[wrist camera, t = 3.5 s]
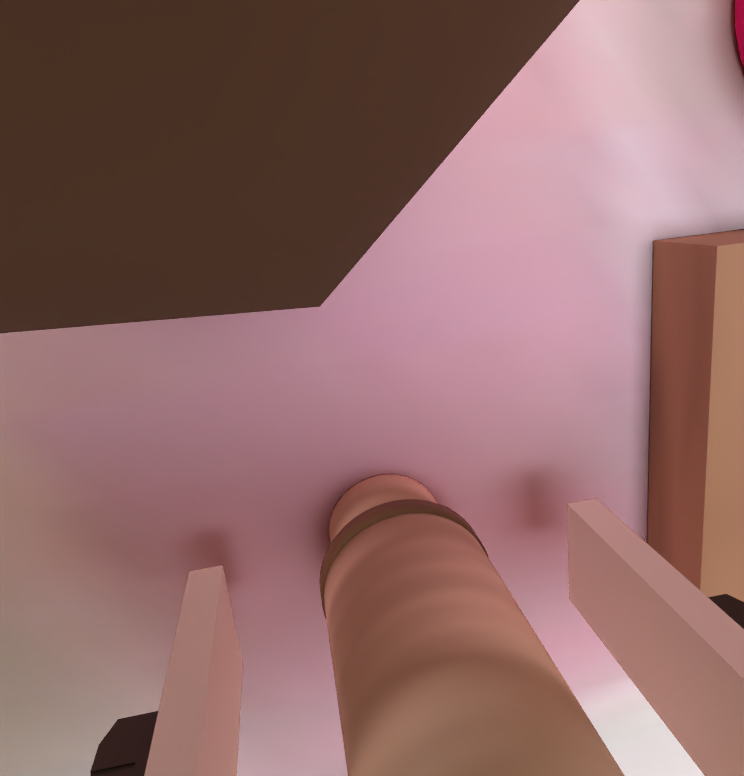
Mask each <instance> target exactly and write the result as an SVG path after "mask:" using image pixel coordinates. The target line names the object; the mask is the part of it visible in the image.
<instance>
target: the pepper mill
mask: <svg viewBox="0 0 744 776" xmlns="http://www.w3.org/2000/svg"><path fill="white" fill-rule="evenodd" d="M735 31H736V37H737V43H738V48H739V54H740V59H741V62H742V64H743V66H744V0H735Z"/></svg>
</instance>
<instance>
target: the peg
mask: <svg viewBox="0 0 744 776" xmlns="http://www.w3.org/2000/svg"><path fill="white" fill-rule="evenodd" d="M329 536H330V542H331V544H330V546H329V548H328V550H327V552H326V554H325V557H324V559H323V562H322V567H321V571H320V591H321V599H322V606H323V610H324V615H325V618H326V620H327V627H328V634H329V641H330V648H331V655H332V663H333V670H334V677H335V684H336V692H337V699H338V706H339V713H340V720H341V728H342V735H343V742H344V749H345V757H346V764H347V771H348V776H624V774H623V773H622V771H621V769H620V768H619V766H618V765H617V763H616V761H615V760H614V758H613V757H612V755H611V753H610V752H609V750H608V749H607V747H606V745H605V744H604V742H603V741H602V739H601V737H600V736H599V734H598V733H597V731H596V729H595V728H594V726H593V725H592V723H591V721H590V720H589V718H588V717H587V715H586V713H585V712H584V710H583V709H582V707H581V705H580V704H579V702H578V701H577V699H576V697H575V696H574V694H573V693H572V691H571V689H570V688H569V686H568V685H567V683H566V681H565V680H564V678H563V677H562V675H561V673H560V672H559V670H558V669H557V667H556V665H555V664H554V662H553V661H552V659H551V657H550V656H549V654H548V653H547V651H546V649H545V648H544V646H543V645H542V643H541V641H540V640H539V638H538V637H537V635H536V633H535V632H534V630H533V629H532V627H531V625H530V624H529V622H528V621H527V619H526V617H525V616H524V614H523V613H522V611H521V609H520V608H519V606H518V605H517V603H516V601H515V600H514V598H513V597H512V595H511V593H510V592H509V590H508V589H507V587H506V585H505V584H504V582H503V581H502V579H501V577H500V576H499V574H498V573H497V571H496V569H495V568H494V566H493V565H492V563H491V561H490V560H489V558H488V555H487V552H486V550H485V548H484V546H483V545H482V543H481V541H480V540H479V538H478V537H477V535H476V534H475V532H474V531H473V529H472V528H471V526H470V525H469V524H468V523H467V522H466V521H465V519H463V518H462V517H461V516H460V515H459V514H457V513H456V512H454V511H453V510H451V509H449V508H448V507H445V506H443V505H440V504H438V503H437V502H436V500H435V498H434V497H433V495H432V494H431V493H430V492H429V490H428V489H427V488H426V487H424V486H423V485H422V484H421V483H419V482H417V481H416V480H413V479H411V478H409V477H405V476H402V475H395V474H385V475H378V476H374V477H370V478H368V479H365V480H363V481H361V482H359V483H357V484H356V485H354V486H353V487H351V488H350V489H349V490H348V491H347V492H346V493H345V494H344V495H343V496H342V497H341V498H340V500H339V501H338V502H337V504H336V506H335V508H334V510H333V512H332V515H331V519H330V524H329Z"/></svg>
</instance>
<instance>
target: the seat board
mask: <svg viewBox="0 0 744 776" xmlns="http://www.w3.org/2000/svg"><path fill="white" fill-rule="evenodd" d="M647 544H648V545H649V546H651V547H652V548H653V549H654V550H655V551H656V552H657V553H658V554H660V555H661V556H662V557H663V558H664V559H665V560H666V561H667V562H669V563H670V564H671V565H672V566H673V567H674V568H675V569H676V570H678V571H679V572H680V573H681V574H682V575H683V576H684V577H685V578H687V579H688V580H689V581H690V582H691V583H692V584H693V585H694V586H696V587H697V588H698V589H699V590H700V591H701V592H702V593H703V594H705V595H706V596H707V597H712V596H717V595H722V594H728V595H730V596H732V597H734V598H736V599H738V600H740V601H743V602H744V229H741V230H733V231H725V232H717V233H710V234H702V235H694V236H686V237H679V238H671V239H663V240H655V241H654V253H653V301H652V348H651V396H650V443H649V491H648V539H647Z"/></svg>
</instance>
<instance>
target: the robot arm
mask: <svg viewBox="0 0 744 776" xmlns="http://www.w3.org/2000/svg"><path fill="white" fill-rule="evenodd" d="M567 522H568V571H569V599H570V601H571V602H572V603H573V604H574V606H575V607H576V608H577V610H578V611H579V612H580V614H581V615H582V616H583V617H584V619H585V620H586V621H587V623H588V624H589V625H590V627H591V628H592V629H593V631H594V632H595V633H596V634H597V636H598V637H599V638H600V640H601V641H602V642H603V644H604V645H605V646H606V647H607V649H608V650H609V651H610V653H611V654H612V655H613V657H614V658H615V659H616V661H617V662H618V663H619V664H620V666H621V667H622V668H623V670H624V671H625V672H626V674H627V675H628V676H629V677H630V679H631V680H632V681H633V683H634V684H635V685H636V687H637V688H638V689H639V691H640V692H641V693H642V694H643V696H644V697H645V698H646V700H647V701H648V702H649V704H650V705H651V706H652V707H653V709H654V710H655V711H656V713H657V714H658V715H659V717H660V718H661V719H662V720H663V722H664V723H665V724H666V726H667V727H668V728H669V730H670V731H671V732H672V734H673V735H674V736H675V737H676V739H677V740H678V741H679V743H680V744H681V745H682V747H683V748H684V749H685V750H686V752H687V753H688V754H689V756H690V757H691V758H692V760H693V761H694V762H695V764H696V765H697V766H698V767H699V769H700V770H701V771H702V773H703V774H704V775H705V776H744V602H743V601H740V600H738V599H736V598H734V597H732V596H730V595H728V594H722V595H717V596H712V597H707V596H706V595H705V594H703V593H702V592H701V591H700V590H699V589H698V588H697V587H696V586H694V585H693V584H692V583H691V582H690V581H689V580H688V579H687V578H685V577H684V576H683V575H682V574H681V573H680V572H679V571H678V570H676V569H675V568H674V567H673V566H672V565H671V564H670V563H669V562H667V561H666V560H665V559H664V558H663V557H662V556H661V555H660V554H658V553H657V552H656V551H655V550H654V549H653V548H652V547H651V546H649V545H648V544H647V543H646V542H645V541H644V540H643V539H642V538H640V537H639V536H638V535H637V534H636V533H635V532H634V531H633V530H631V529H630V528H629V527H628V526H627V525H626V524H625V523H624V522H622V521H621V520H620V519H619V518H618V517H617V516H616V515H615V514H613V513H612V512H611V511H610V510H609V509H608V508H607V507H606V506H604V505H603V504H602V503H601V502H600V501H599V500H598V499H597V498H595V499H589V500H584V501H578V502H572V503H567ZM242 669H243V662H242V657H241V652H240V647H239V642H238V637H237V632H236V627H235V622H234V617H233V612H232V607H231V602H230V598H229V593H228V588H227V583H226V578H225V573H224V568H223V565H221V566H215V567H209V568H204V569H198V570H193V571H189V575H188V579H187V584H186V588H185V593H184V597H183V602H182V606H181V611H180V616H179V620H178V625H177V629H176V634H175V638H174V643H173V647H172V652H171V656H170V661H169V666H168V670H167V675H166V679H165V684H164V688H163V693H162V697H161V702H160V706H159V711H156V712H151V713H146V714H141V715H137V716H132V717H127V718H122V719H118V720H117V721H116V723H115V724H114V725H113V727H112V728H111V729H110V731H109V732H108V733H107V735H106V736H105V737H104V739H103V740H102V741H101V743H100V744H99V747H98V750H97V753H96V756H95V759H94V762H93V765H92V769H91V776H236V773H237V756H238V739H239V721H240V704H241V687H242Z"/></svg>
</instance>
